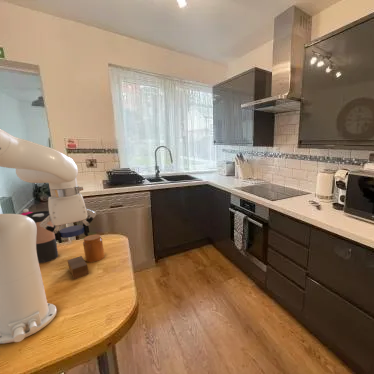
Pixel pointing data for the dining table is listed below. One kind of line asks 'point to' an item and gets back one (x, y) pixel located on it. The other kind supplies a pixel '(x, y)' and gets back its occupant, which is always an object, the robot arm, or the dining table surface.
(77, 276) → the stand
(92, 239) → the jam jar
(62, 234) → the jar lid
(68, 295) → the dining table surface
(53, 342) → the dining table surface
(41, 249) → the travel mug
